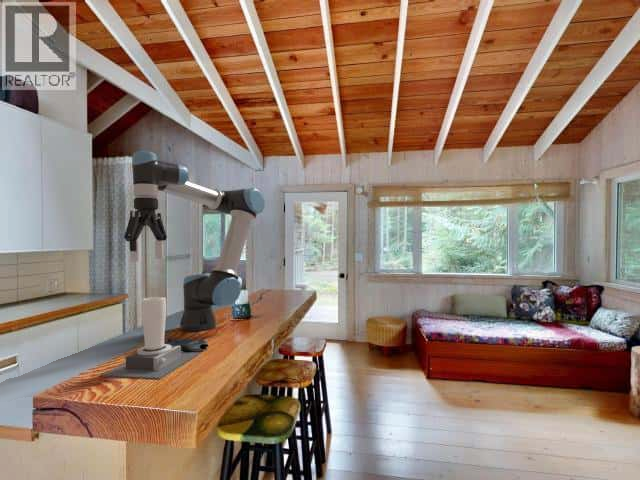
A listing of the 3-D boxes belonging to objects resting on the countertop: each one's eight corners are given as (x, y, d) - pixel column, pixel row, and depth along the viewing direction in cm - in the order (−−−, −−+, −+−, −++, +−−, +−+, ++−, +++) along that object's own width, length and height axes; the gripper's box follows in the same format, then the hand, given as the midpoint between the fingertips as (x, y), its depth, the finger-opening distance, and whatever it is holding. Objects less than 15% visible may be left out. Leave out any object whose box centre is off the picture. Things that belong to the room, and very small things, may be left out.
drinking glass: (147, 345, 110) (147, 297, 110) (170, 344, 110) (169, 296, 110) (138, 352, 103) (137, 300, 103) (162, 351, 103) (161, 299, 104)
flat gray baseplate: (151, 352, 119) (151, 337, 119) (200, 353, 116) (200, 339, 116) (100, 376, 97) (99, 359, 97) (159, 379, 94) (159, 361, 94)
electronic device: (159, 357, 119) (197, 353, 115) (158, 340, 120) (196, 335, 116) (177, 352, 128) (213, 349, 124) (176, 336, 129) (212, 332, 125)
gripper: (156, 201, 133) (158, 258, 133) (109, 194, 109) (112, 263, 109) (175, 201, 132) (177, 257, 133) (132, 193, 108) (134, 262, 108)
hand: (148, 260), depth 121 cm, fingers open, 13 cm apart
